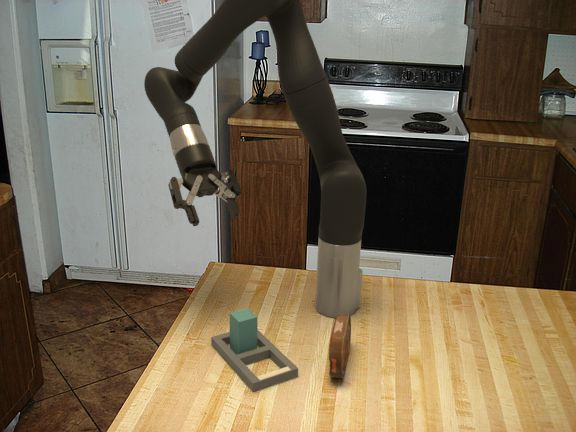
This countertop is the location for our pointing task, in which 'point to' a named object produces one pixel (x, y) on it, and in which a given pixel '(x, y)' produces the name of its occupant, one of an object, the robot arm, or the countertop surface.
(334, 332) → the tin
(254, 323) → the block
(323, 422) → the countertop surface
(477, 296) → the countertop surface
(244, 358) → the frame
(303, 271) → the countertop surface
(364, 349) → the countertop surface
